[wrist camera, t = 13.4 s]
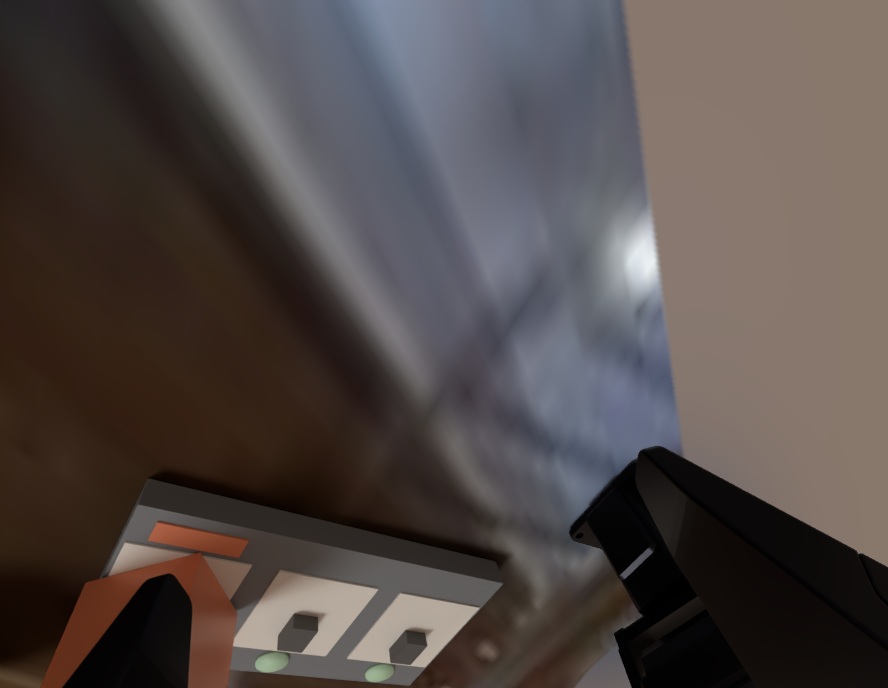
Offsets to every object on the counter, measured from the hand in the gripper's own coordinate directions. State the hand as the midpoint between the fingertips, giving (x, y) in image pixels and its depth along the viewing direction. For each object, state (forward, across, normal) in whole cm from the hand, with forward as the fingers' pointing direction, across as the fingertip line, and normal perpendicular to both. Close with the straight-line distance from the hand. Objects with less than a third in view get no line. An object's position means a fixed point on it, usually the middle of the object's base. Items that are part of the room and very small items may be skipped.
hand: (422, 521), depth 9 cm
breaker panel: (+12, +7, +18) cm, 23 cm away
